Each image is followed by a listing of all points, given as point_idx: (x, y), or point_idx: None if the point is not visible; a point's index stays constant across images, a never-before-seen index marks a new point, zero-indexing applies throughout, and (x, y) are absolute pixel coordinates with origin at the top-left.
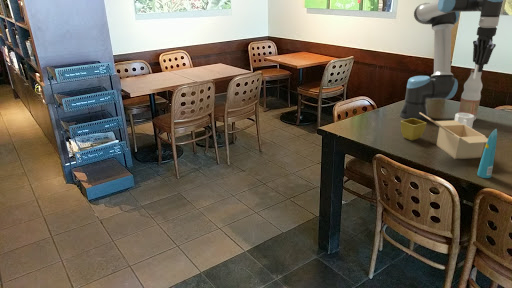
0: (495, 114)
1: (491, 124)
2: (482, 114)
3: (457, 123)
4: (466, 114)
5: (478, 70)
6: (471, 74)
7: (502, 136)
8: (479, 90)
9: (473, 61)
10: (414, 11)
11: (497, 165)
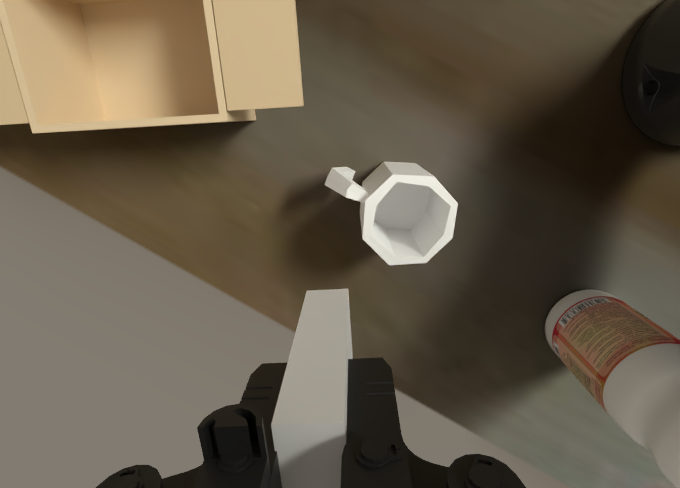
0: (600, 458)
1: (483, 378)
2: None
3: (243, 86)
4: (433, 243)
5: (282, 376)
6: None
7: None
8: (651, 450)
9: (472, 462)
10: None
11: (37, 153)
